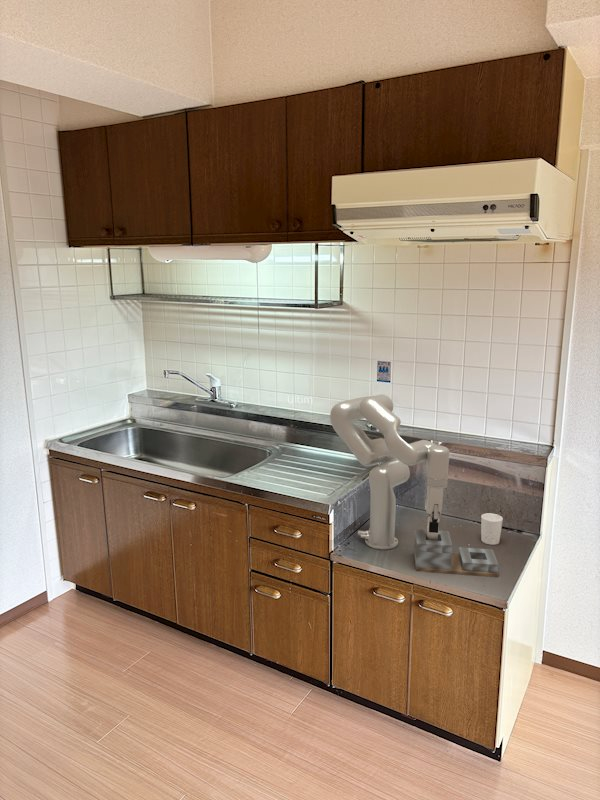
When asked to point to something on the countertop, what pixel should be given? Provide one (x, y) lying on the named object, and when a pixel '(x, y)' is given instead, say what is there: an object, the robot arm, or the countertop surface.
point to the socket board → (452, 557)
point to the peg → (429, 534)
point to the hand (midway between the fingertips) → (432, 528)
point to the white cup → (491, 528)
